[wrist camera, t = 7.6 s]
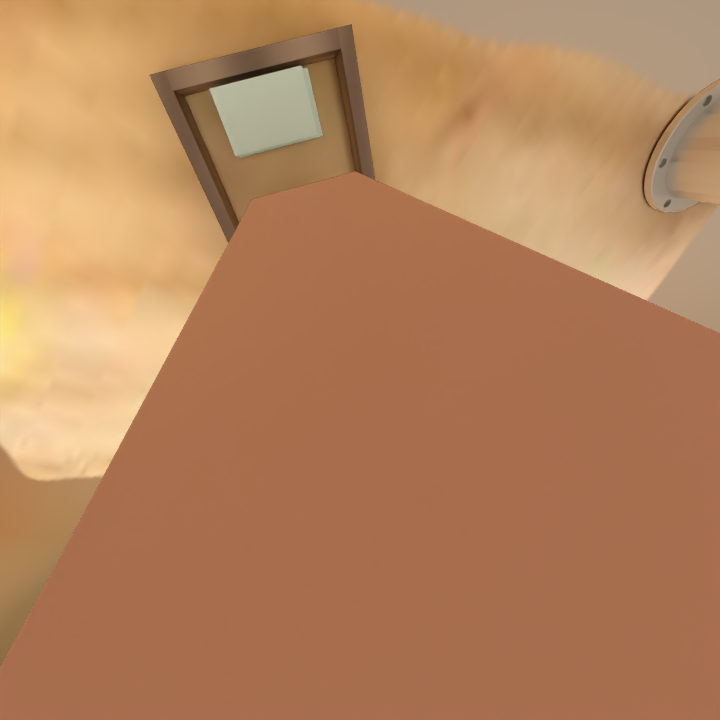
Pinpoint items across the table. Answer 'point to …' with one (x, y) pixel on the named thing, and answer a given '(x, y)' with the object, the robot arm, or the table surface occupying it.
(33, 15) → the table surface
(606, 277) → the table surface
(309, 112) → the pale green block
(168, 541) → the tall pink block
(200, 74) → the frame
